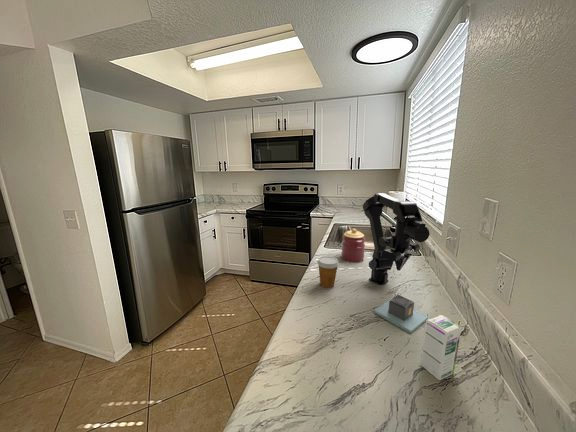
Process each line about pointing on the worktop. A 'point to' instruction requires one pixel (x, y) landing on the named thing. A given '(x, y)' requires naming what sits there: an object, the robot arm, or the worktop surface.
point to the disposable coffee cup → (327, 270)
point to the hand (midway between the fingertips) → (398, 270)
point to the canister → (353, 246)
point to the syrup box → (440, 346)
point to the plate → (407, 325)
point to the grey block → (401, 307)
